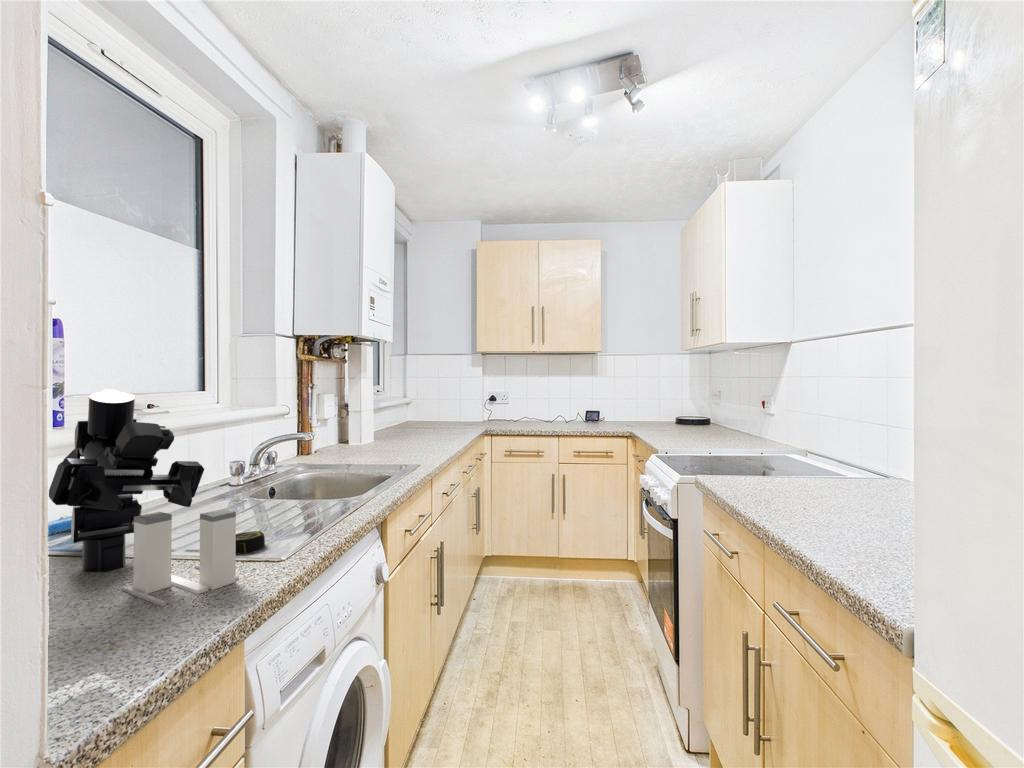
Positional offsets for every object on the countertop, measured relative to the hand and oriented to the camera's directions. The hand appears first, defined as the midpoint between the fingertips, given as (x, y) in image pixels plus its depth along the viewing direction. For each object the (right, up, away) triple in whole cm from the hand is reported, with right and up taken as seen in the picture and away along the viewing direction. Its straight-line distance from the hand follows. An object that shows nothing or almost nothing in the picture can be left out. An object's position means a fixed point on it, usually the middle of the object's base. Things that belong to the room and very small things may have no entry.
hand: (156, 505), depth 72 cm
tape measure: (0, -15, +22) cm, 27 cm away
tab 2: (+6, -13, +5) cm, 15 cm away
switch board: (0, -14, +5) cm, 15 cm away
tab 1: (-3, -13, +3) cm, 14 cm away
